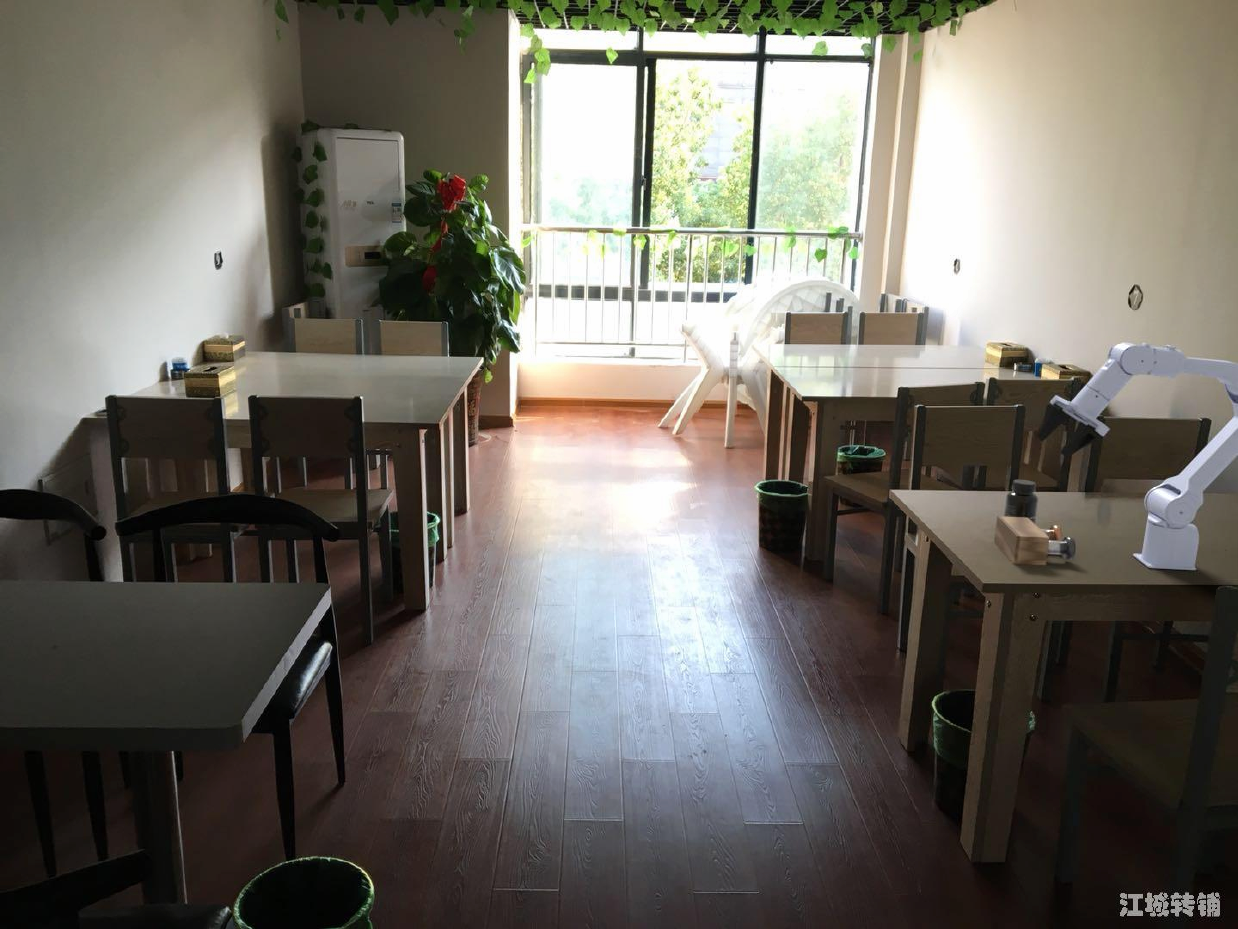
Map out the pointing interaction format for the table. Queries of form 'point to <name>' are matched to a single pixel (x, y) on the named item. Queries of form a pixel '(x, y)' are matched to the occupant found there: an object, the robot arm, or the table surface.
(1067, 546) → the knob near
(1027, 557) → the catch block
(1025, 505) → the supplement bottle
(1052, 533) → the knob far
